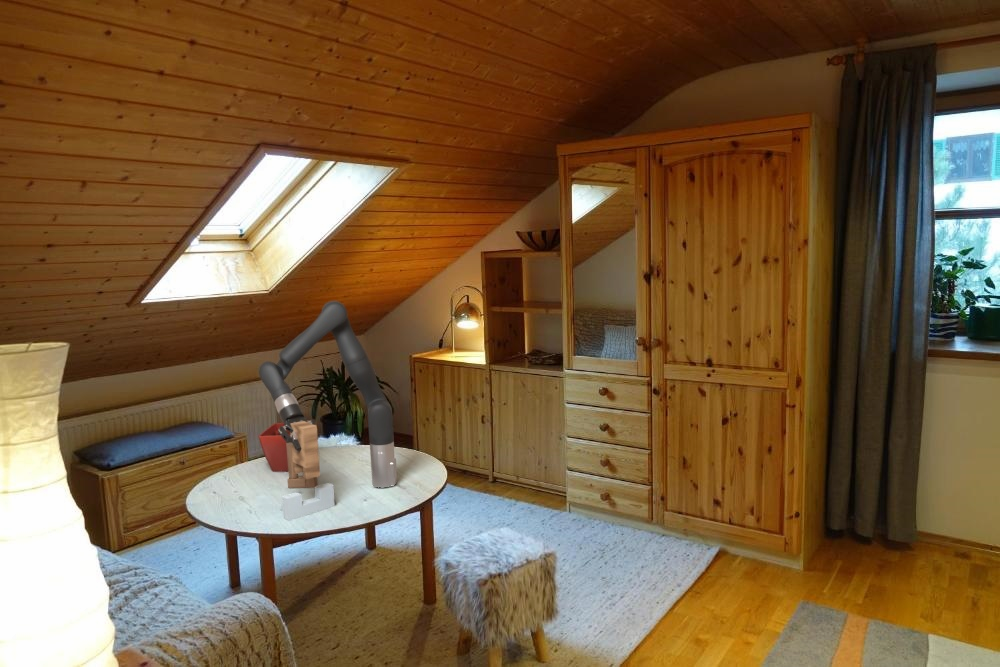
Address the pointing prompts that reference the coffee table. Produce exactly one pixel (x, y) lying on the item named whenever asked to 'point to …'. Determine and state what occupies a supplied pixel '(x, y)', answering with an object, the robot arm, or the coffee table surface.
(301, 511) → the white notched u-shaped brace
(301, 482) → the brown notched handled part
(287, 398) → the robot arm
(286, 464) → the plant pot
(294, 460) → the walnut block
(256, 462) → the coffee table surface
